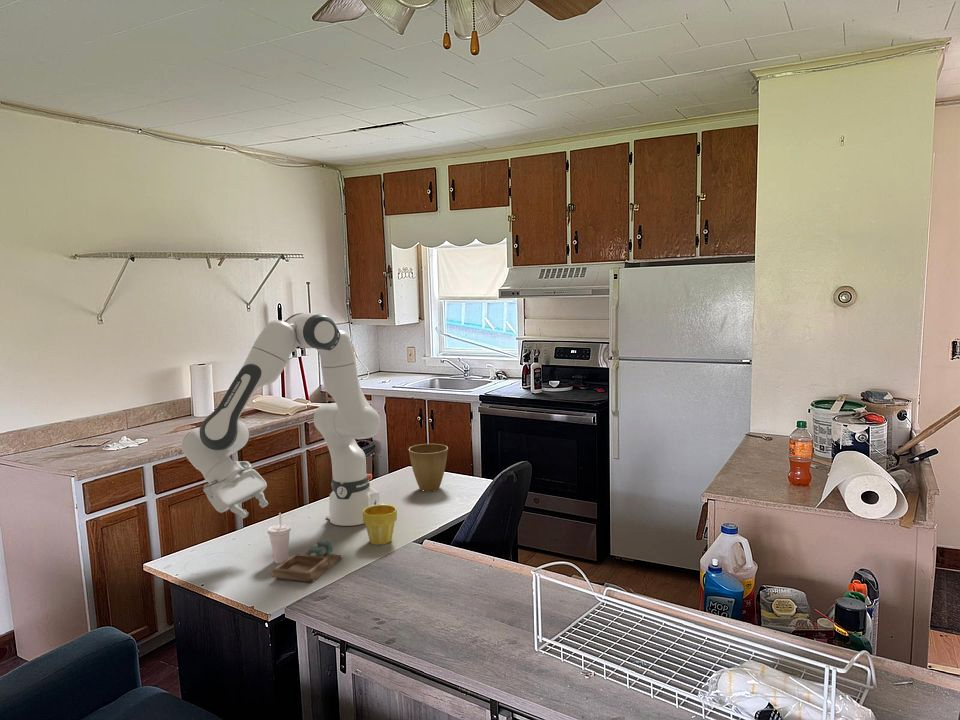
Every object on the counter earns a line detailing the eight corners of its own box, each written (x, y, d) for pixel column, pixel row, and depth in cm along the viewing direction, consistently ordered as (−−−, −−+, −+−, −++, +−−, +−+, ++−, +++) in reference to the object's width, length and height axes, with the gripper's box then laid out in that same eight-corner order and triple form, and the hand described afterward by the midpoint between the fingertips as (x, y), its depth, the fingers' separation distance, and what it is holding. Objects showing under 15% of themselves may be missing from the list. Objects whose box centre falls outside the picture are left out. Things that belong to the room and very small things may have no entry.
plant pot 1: (405, 538, 207) (403, 507, 206) (382, 549, 198) (380, 517, 197) (380, 532, 213) (378, 502, 212) (356, 543, 204) (355, 511, 203)
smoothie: (286, 565, 189) (282, 517, 188) (265, 564, 190) (261, 516, 189) (296, 556, 195) (293, 509, 194) (276, 555, 197) (273, 509, 195)
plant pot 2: (405, 494, 251) (403, 452, 250) (416, 483, 266) (414, 443, 264) (444, 495, 249) (442, 453, 247) (453, 483, 263) (451, 443, 261)
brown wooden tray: (311, 552, 198) (310, 538, 197) (344, 555, 195) (343, 541, 194) (272, 580, 179) (271, 565, 179) (309, 584, 176) (308, 569, 176)
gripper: (206, 478, 184) (239, 515, 183) (251, 460, 204) (282, 493, 202) (194, 493, 186) (226, 530, 184) (240, 473, 206) (270, 506, 204)
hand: (256, 511), depth 193 cm, fingers open, 8 cm apart
